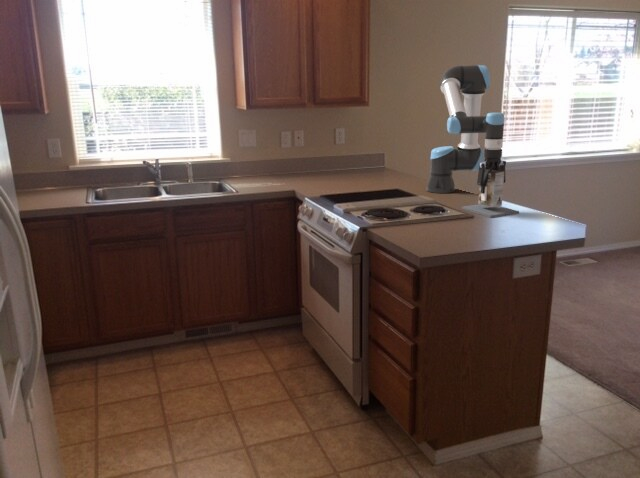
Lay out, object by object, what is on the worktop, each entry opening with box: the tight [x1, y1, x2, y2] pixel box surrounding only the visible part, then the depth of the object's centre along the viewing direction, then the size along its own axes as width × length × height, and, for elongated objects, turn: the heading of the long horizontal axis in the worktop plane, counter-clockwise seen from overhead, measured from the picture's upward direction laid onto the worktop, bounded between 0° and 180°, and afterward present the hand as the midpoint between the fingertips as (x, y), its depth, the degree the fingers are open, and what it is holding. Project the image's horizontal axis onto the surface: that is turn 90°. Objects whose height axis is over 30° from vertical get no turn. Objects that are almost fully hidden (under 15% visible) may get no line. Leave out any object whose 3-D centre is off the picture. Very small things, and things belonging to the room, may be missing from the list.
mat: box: [461, 203, 520, 219], centre depth 256 cm, size 20×16×1 cm
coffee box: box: [477, 169, 506, 207], centre depth 253 cm, size 9×6×16 cm
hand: (490, 199), depth 254 cm, fingers closed on coffee box, 7 cm apart
